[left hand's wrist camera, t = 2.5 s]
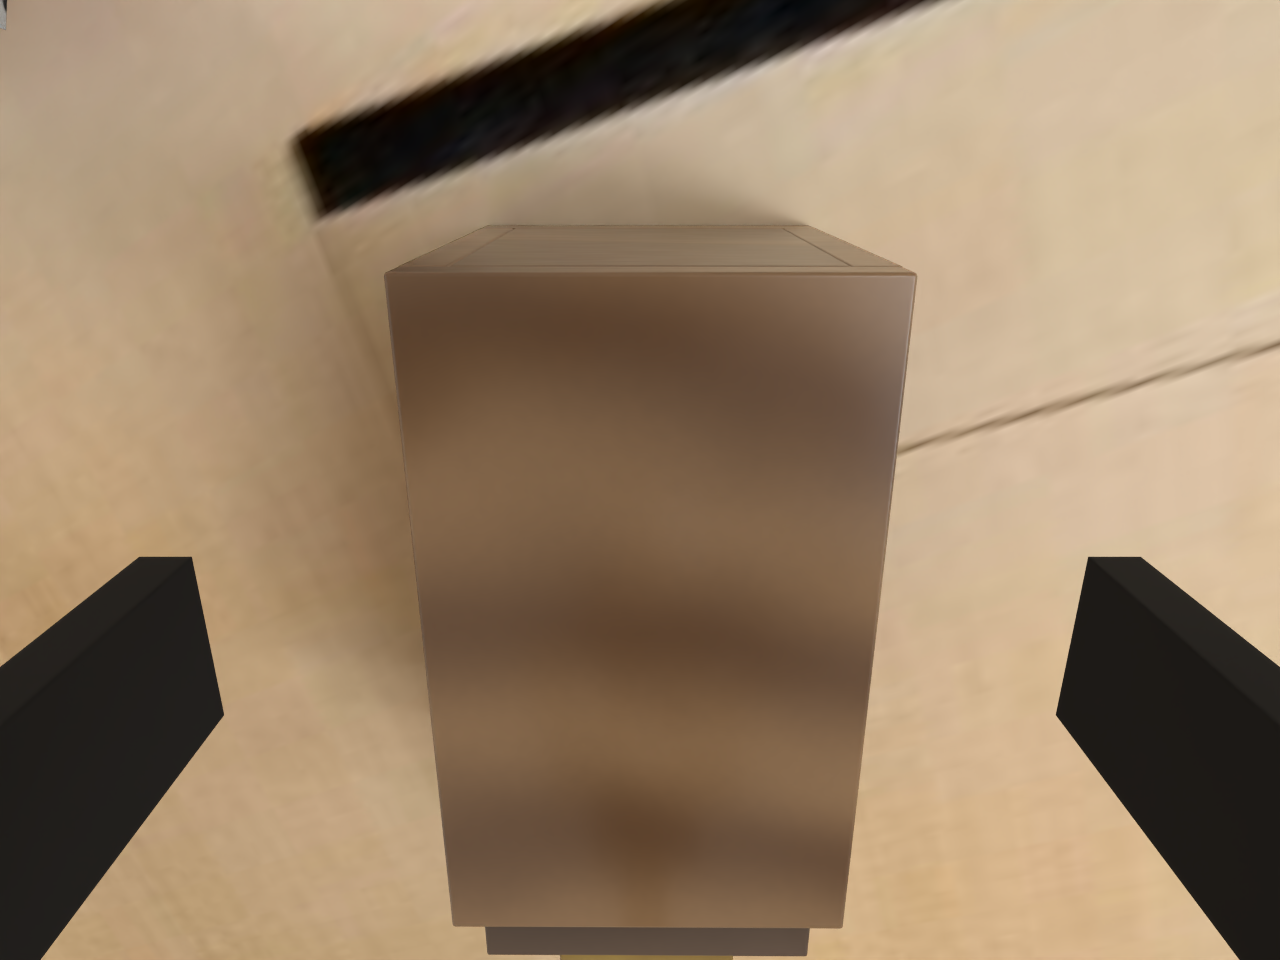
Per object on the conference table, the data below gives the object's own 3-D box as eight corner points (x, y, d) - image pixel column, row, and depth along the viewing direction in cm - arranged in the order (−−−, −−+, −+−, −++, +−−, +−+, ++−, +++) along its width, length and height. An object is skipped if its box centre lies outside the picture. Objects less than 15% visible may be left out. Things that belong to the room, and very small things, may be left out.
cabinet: (779, 679, 33) (843, 929, 22) (514, 678, 33) (452, 928, 22) (810, 225, 27) (918, 272, 16) (486, 225, 27) (382, 272, 16)
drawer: (757, 850, 35) (795, 1084, 26) (535, 849, 35) (498, 1082, 26) (789, 342, 27) (858, 432, 18) (506, 342, 27) (441, 431, 18)
